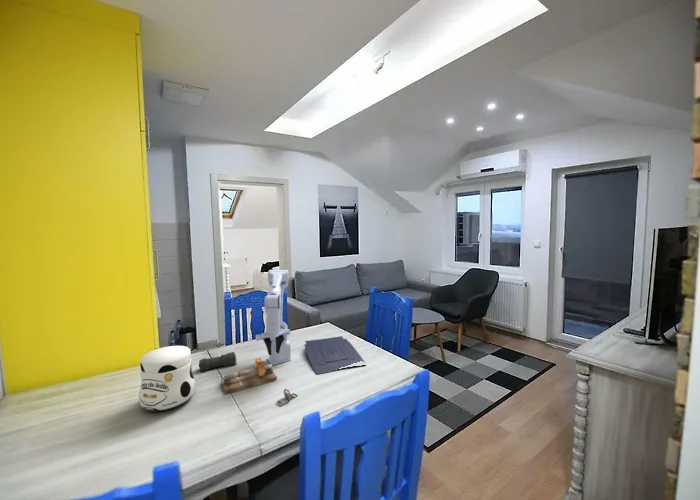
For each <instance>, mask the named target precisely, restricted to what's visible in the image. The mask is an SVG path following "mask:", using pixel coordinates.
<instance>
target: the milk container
mask: <svg viewBox="0 0 700 500" xmlns="http://www.w3.org/2000/svg"><path fill="white" fill-rule="evenodd" d="M139 365H140V376H141V377H140V378H141V379H140V380H141V382H140V383H141V384H140V388H139V392H138V398H139V404H140V406H141V408H142V409H144V410H145V411H148V412H156V413H157V412H164V411H169V410H172V409H175V408H177V407H179V406H181V405H183V404H185V403H186V402H188V401H189V400H190V399H191V397H192V396H193V395H194V392H195V387H196V381H195V377H194V374H193V371H192V353H191V349H190V348H189V347H188V346H185V345H171V346H164V347H159V348H156V349H152V350H151V351H149V352H147V353H145V354H144V355H142V356H141V358H140V364H139Z"/></svg>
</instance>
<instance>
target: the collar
mask: <svg viewBox="0 0 700 500" xmlns="http://www.w3.org/2000/svg"><path fill="white" fill-rule="evenodd" d="M264 366H265V361H264V360H262V358H261V357H258V358H255V368H258V372H257V374H258V375H259V377H261V376H264Z"/></svg>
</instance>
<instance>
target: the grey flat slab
mask: <svg viewBox="0 0 700 500" xmlns="http://www.w3.org/2000/svg"><path fill="white" fill-rule="evenodd" d="M304 342H305V344H304V345H303V346H304V350H305V353H306V355H307V357H308V360H309V362H310V364H311V366H312V367H311V368H312V369H313V371H314V372H315V374H316V375H321V374H325V373H331V372H334V371H333V370H335V371H337V370H336V369H339V368H341V367H345V366H348V365H351V364H353V363H357V362H360V361H364V359H363V357H362V356H361V355H360V353H359V352H358V351H357V350H356V348H355V347H354V345H353V344H352V343H351V341H348V339H347V338H344V337H343V336H341V335H340V336H334V337H328V338H320V339H319V338H318V339H312V340H305V341H304Z"/></svg>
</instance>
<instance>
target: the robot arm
mask: <svg viewBox="0 0 700 500" xmlns="http://www.w3.org/2000/svg"><path fill="white" fill-rule="evenodd" d="M289 275H290V274H289V270H288V269H269V270H268V271H267V281H268V285H269V287H268V290H267V294H266V296H264V300H263V301H264V303H263V305H264V309H265V323H266V325H265V327H266V332H262V333H260V334H256V335H255V340H256V342H259V341H262V340H263V342H264V344H265V346H266V349H267V354H268V355H269V357H266V359H267V361H268V362H269V363H270V364H272V366H273V365H277V364H281V363H284V362H285V363H286V362H289V361H291V360H292V359H291V342H290V340H289V339H288V338H289V335H291V329H290V328H288V326H289V325H288V324H287V323H286V322H284V320H283V310H284V309H283V307H284V305H283V304H284V292H285V289H286V288H288V286H289V277H290V276H289Z"/></svg>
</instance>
